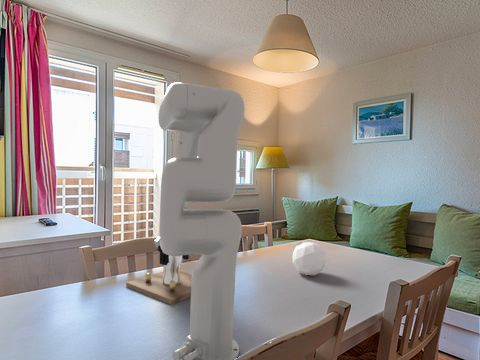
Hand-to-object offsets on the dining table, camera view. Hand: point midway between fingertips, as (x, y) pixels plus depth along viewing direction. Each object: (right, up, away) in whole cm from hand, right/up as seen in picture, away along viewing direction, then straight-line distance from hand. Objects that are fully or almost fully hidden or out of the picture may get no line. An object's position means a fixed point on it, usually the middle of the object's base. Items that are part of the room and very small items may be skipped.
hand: (174, 261), depth 107 cm
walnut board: (0, -9, 0) cm, 9 cm away
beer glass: (-1, -7, -1) cm, 7 cm away
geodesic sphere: (+50, -10, +19) cm, 55 cm away
